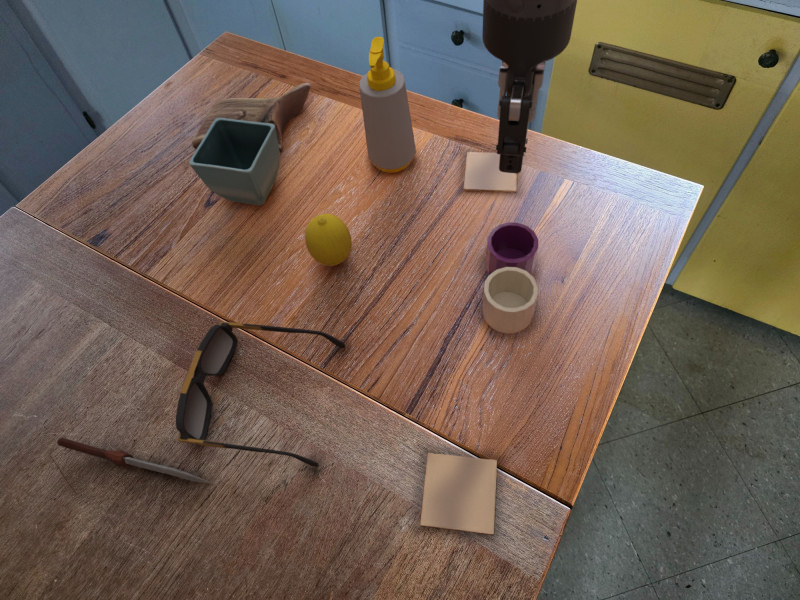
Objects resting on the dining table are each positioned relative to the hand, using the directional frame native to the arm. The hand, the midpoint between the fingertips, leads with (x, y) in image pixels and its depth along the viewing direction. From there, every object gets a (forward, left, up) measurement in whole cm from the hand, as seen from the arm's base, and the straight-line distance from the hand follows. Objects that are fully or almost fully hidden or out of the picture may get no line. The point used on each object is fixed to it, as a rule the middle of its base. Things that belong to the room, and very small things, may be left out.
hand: (514, 140), depth 58 cm
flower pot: (+35, -5, -15) cm, 39 cm away
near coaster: (+3, +33, -15) cm, 36 cm away
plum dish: (-1, +6, -15) cm, 16 cm away
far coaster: (+2, -10, -15) cm, 18 cm away
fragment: (+38, -18, -15) cm, 45 cm away
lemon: (+21, +6, -15) cm, 27 cm away
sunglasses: (+25, +25, -15) cm, 39 cm away
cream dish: (-1, +12, -15) cm, 19 cm away
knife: (+37, +34, -15) cm, 53 cm away
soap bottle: (+16, -12, -15) cm, 25 cm away
